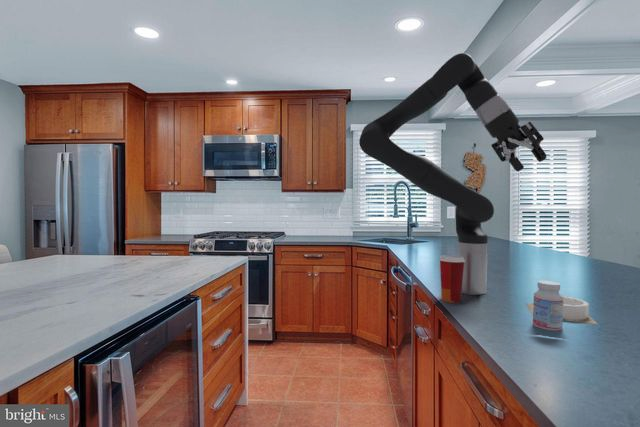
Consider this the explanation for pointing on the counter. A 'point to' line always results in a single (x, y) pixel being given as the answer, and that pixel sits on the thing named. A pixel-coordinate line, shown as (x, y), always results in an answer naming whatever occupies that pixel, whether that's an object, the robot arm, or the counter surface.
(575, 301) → the dish
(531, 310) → the mat
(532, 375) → the counter surface
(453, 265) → the paper cup
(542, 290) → the pill bottle
